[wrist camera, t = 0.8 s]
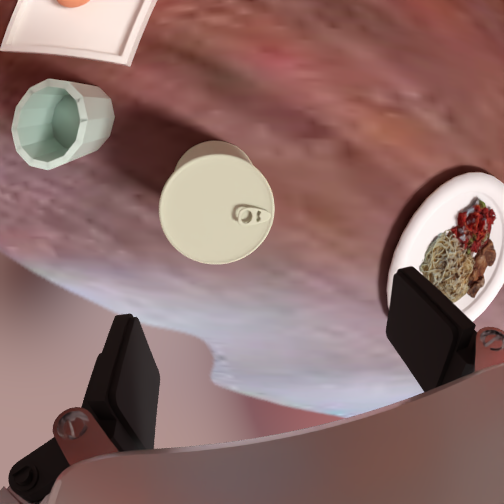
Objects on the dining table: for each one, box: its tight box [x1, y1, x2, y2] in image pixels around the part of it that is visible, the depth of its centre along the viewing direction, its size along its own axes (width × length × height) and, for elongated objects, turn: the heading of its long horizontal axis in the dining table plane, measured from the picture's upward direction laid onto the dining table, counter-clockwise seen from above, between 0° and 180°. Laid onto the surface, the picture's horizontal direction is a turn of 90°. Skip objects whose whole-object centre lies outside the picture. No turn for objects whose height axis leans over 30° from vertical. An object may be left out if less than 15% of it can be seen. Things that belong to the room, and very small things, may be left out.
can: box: [159, 141, 274, 264], centre depth 30 cm, size 9×9×12 cm
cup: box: [11, 79, 115, 170], centre depth 26 cm, size 8×8×8 cm
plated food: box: [387, 172, 504, 322], centre depth 44 cm, size 30×30×3 cm
